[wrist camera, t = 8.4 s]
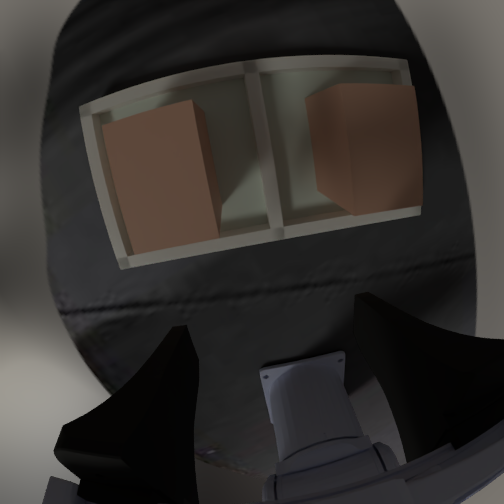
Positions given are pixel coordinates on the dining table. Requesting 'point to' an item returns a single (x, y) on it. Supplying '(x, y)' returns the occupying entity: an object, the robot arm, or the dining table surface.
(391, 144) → the loose block
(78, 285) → the dining table surface
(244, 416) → the dining table surface
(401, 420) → the robot arm
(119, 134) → the seated block
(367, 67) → the divided tray
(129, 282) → the dining table surface
